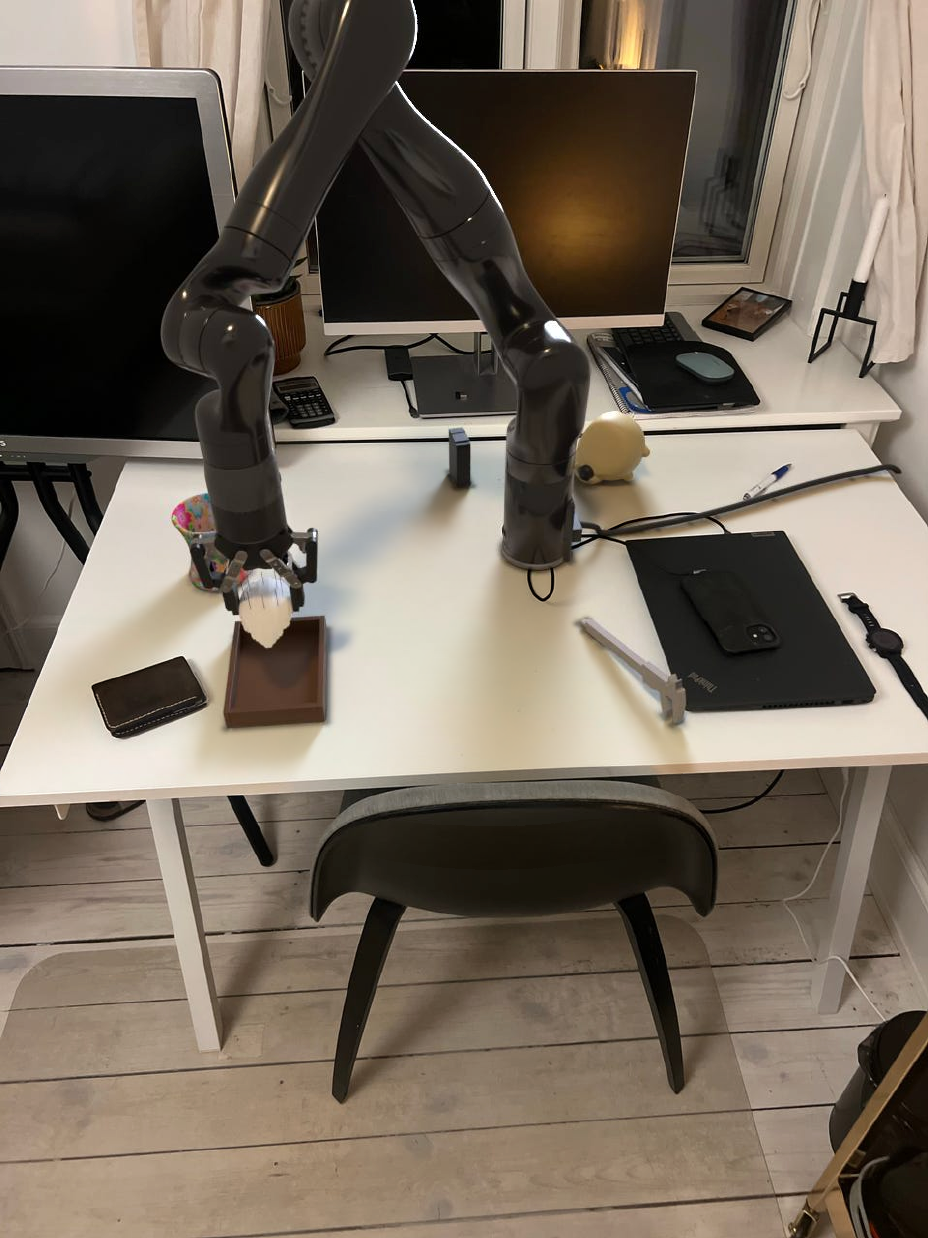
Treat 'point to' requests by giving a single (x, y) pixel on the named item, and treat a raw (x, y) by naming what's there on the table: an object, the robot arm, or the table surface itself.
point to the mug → (200, 532)
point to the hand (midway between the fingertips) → (267, 608)
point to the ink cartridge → (459, 457)
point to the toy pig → (610, 449)
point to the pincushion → (265, 609)
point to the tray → (278, 676)
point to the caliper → (644, 671)
